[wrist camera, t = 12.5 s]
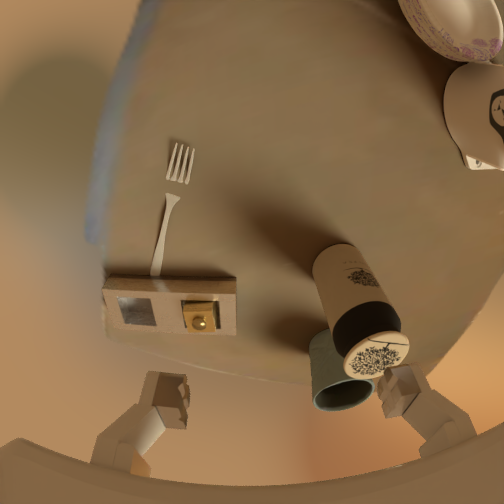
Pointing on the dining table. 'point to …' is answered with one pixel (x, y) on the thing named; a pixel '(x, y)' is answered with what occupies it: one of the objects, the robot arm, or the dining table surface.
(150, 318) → the tan windowed box
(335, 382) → the green cup
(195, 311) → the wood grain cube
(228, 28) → the dining table surface
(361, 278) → the travel mug
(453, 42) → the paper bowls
